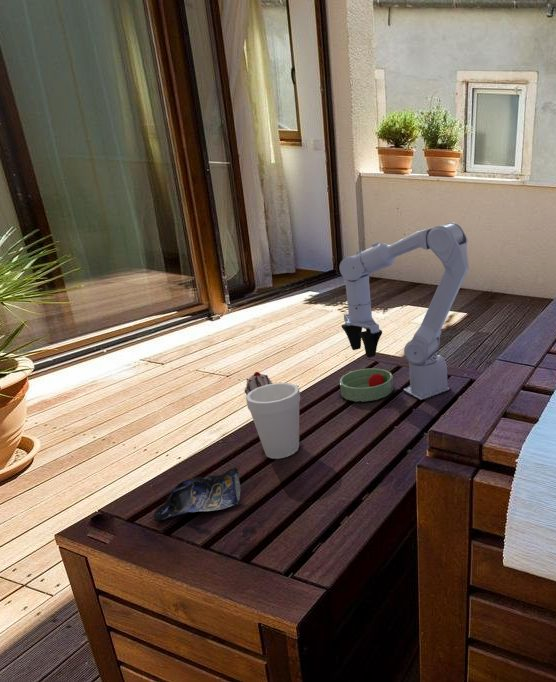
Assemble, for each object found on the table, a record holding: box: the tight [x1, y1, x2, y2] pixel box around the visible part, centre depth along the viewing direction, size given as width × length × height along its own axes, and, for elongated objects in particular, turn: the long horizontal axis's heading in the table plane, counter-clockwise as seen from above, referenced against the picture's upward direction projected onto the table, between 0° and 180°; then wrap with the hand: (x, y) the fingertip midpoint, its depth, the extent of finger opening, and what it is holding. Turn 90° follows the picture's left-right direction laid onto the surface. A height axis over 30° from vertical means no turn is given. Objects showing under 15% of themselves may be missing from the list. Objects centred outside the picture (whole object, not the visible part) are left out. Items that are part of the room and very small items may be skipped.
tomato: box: [368, 374, 388, 387], centre depth 123 cm, size 4×4×5 cm
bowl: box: [339, 367, 395, 402], centre depth 123 cm, size 13×13×4 cm
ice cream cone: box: [243, 371, 274, 396], centre depth 100 cm, size 6×6×15 cm
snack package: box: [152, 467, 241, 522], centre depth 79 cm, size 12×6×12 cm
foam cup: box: [245, 382, 301, 460], centre depth 94 cm, size 10×9×13 cm
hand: (363, 352), depth 124 cm, fingers open, 7 cm apart
